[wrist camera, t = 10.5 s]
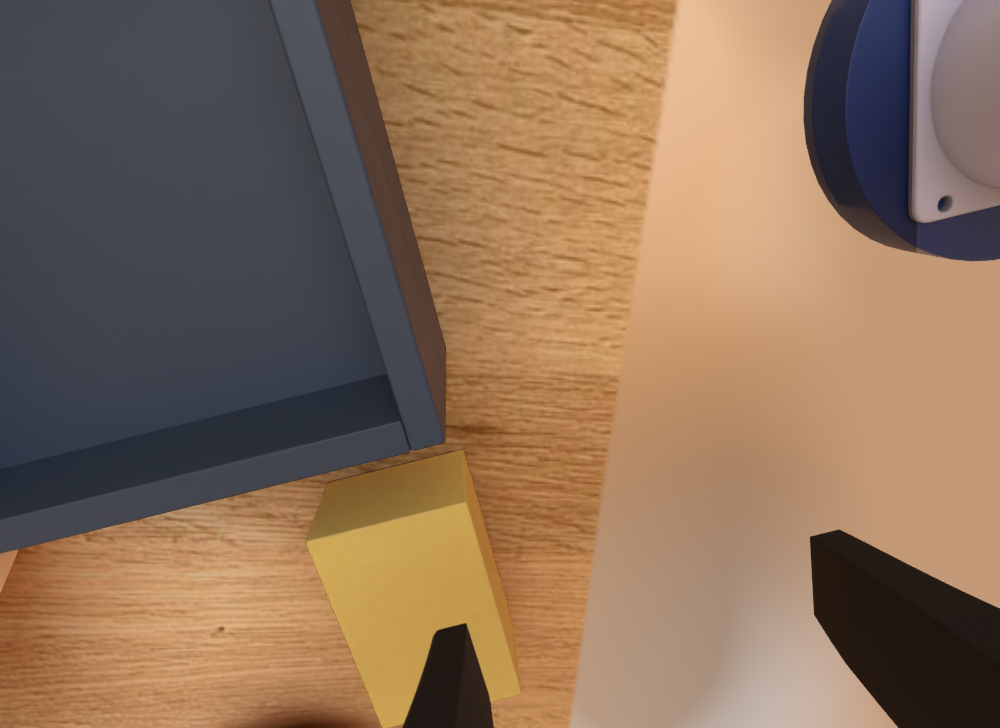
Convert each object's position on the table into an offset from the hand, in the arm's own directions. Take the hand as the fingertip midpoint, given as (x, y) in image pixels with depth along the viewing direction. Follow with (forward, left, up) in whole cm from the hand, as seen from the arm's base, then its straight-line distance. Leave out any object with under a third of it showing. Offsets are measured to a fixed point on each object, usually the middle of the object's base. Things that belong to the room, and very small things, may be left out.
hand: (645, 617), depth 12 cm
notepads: (+6, +4, -9) cm, 12 cm away
